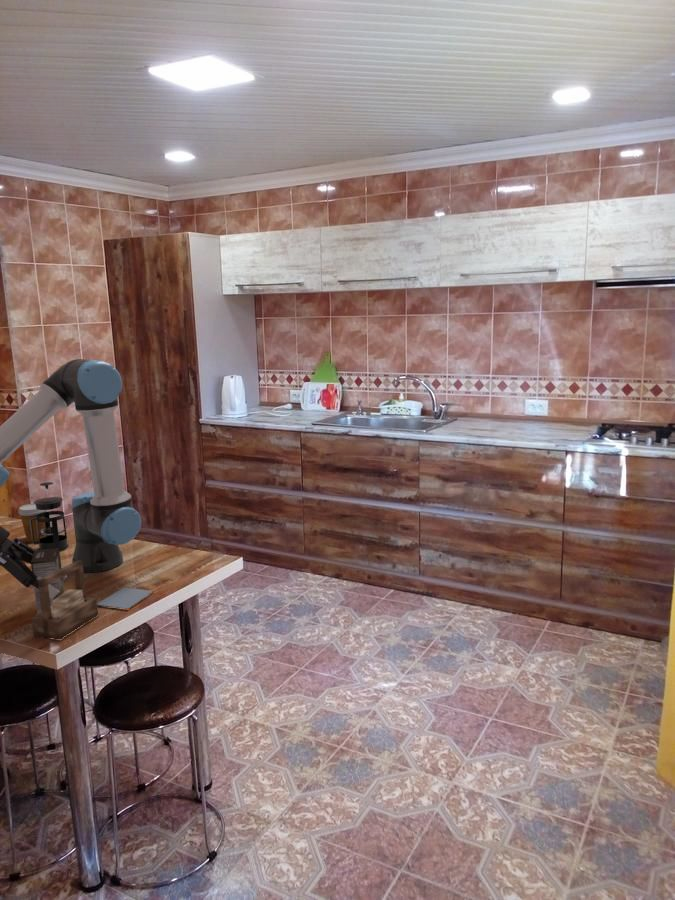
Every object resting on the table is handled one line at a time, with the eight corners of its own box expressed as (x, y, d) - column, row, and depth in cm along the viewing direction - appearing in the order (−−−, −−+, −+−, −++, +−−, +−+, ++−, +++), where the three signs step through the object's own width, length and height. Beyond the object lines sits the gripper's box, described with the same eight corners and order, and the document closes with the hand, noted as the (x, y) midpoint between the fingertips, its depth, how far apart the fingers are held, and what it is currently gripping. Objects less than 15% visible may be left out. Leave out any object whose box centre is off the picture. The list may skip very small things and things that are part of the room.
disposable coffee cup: (55, 538, 239) (52, 505, 237) (29, 545, 232) (25, 511, 230) (43, 532, 245) (39, 501, 243) (17, 539, 238) (13, 507, 236)
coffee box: (40, 606, 182) (34, 550, 179) (66, 603, 184) (60, 547, 181) (36, 620, 173) (29, 561, 170) (63, 617, 175) (56, 558, 172)
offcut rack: (73, 612, 178) (67, 559, 175) (98, 616, 175) (92, 561, 172) (34, 636, 165) (26, 579, 162) (60, 641, 162) (53, 582, 159)
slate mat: (123, 589, 192) (123, 587, 192) (153, 593, 189) (153, 591, 189) (96, 606, 181) (96, 604, 181) (127, 610, 178) (127, 608, 178)
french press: (65, 541, 235) (58, 477, 231) (74, 548, 228) (67, 482, 223) (30, 549, 228) (22, 483, 224) (37, 556, 221) (29, 488, 216)
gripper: (-10, 533, 182) (58, 582, 188) (-37, 561, 161) (40, 616, 167) (9, 512, 182) (76, 562, 188) (-16, 538, 161) (61, 593, 167)
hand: (59, 587), depth 178 cm, fingers closed on coffee box, 9 cm apart
